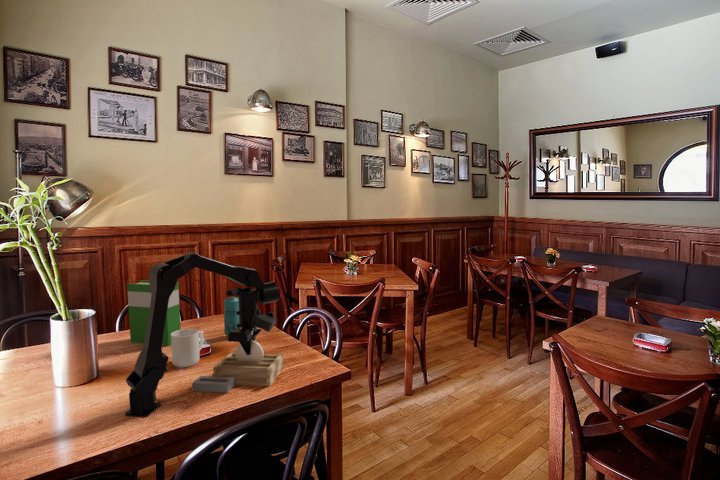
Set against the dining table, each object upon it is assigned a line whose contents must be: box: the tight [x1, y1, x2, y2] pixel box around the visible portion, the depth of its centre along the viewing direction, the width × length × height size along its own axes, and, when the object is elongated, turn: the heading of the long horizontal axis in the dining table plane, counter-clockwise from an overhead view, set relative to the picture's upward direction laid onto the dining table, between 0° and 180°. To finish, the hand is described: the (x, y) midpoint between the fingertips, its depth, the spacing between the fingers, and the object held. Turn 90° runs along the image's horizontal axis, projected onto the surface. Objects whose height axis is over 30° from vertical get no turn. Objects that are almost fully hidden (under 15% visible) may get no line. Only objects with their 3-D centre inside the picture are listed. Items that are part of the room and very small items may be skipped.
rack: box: [212, 350, 285, 387], centre depth 133 cm, size 14×18×5 cm
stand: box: [191, 375, 236, 394], centre depth 124 cm, size 5×11×2 cm, turn 84°
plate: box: [235, 340, 265, 362], centre depth 132 cm, size 1×9×9 cm, turn 84°
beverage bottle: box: [223, 288, 241, 336], centre depth 169 cm, size 6×7×20 cm
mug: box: [170, 328, 204, 369], centre depth 144 cm, size 12×9×11 cm
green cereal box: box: [126, 279, 182, 347], centre depth 165 cm, size 18×7×24 cm, turn 77°
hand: (249, 354), depth 132 cm, fingers closed on plate, 1 cm apart
